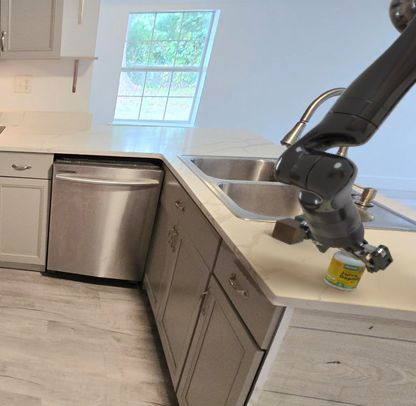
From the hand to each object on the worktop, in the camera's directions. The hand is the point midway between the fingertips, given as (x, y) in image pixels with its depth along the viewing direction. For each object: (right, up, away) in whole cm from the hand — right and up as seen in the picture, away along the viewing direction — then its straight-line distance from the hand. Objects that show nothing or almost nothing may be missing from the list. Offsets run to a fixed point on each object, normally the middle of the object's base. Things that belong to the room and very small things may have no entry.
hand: (348, 258), depth 78 cm
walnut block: (+5, +2, +22) cm, 23 cm away
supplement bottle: (+1, -6, +3) cm, 7 cm away
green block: (+12, +3, +24) cm, 27 cm away
